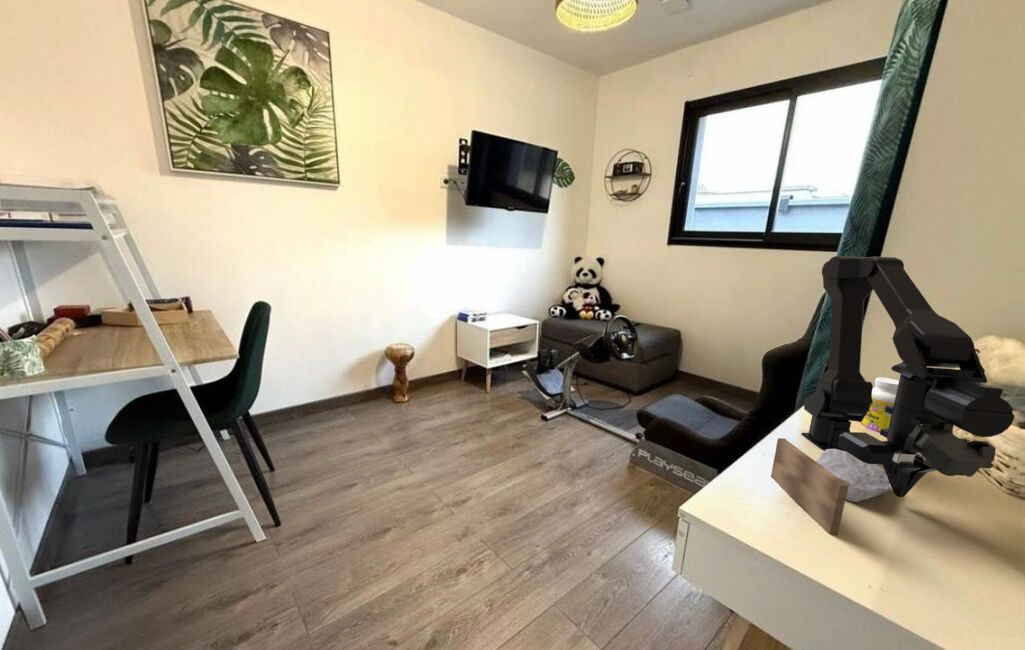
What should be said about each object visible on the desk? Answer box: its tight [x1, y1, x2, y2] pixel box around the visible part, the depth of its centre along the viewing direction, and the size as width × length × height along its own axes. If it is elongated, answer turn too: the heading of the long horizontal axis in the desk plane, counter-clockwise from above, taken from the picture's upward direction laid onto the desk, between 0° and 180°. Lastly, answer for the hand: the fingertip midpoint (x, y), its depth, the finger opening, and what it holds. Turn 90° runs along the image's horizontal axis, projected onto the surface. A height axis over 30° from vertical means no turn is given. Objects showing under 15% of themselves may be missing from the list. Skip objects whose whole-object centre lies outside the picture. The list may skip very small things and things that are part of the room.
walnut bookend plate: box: [770, 437, 849, 535], centre depth 64 cm, size 14×1×8 cm, turn 179°
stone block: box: [815, 449, 891, 503], centre depth 70 cm, size 12×5×10 cm
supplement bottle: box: [859, 377, 899, 434], centre depth 90 cm, size 7×7×13 cm
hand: (898, 495), depth 65 cm, fingers closed
